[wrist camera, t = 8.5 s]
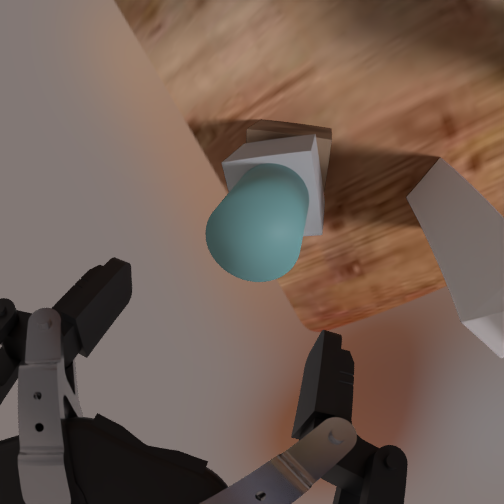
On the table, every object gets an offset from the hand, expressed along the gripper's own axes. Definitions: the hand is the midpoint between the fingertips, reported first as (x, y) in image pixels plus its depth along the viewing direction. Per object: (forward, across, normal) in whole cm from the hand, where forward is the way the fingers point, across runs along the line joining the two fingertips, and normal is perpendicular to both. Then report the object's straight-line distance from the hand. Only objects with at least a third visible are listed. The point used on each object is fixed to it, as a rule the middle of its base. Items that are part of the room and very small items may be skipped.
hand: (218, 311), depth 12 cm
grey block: (+17, 0, 0) cm, 17 cm away
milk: (+23, -16, -2) cm, 29 cm away
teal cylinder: (+11, 0, 0) cm, 11 cm away
